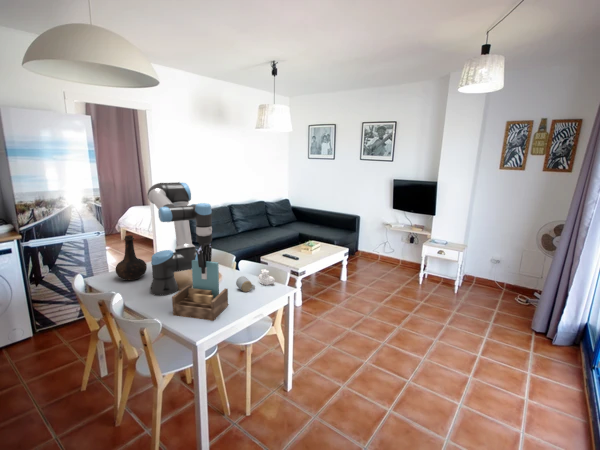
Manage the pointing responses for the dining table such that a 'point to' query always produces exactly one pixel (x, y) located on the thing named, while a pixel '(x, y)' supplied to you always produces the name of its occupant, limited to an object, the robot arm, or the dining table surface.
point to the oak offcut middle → (198, 292)
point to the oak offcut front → (202, 298)
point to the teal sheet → (212, 277)
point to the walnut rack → (198, 305)
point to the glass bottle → (130, 263)
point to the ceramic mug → (244, 284)
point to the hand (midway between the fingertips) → (205, 278)
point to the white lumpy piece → (266, 277)
